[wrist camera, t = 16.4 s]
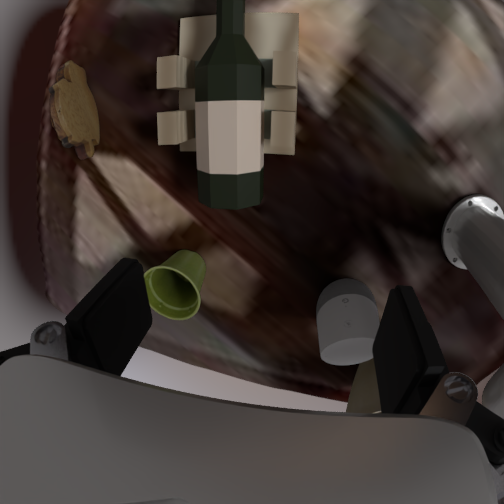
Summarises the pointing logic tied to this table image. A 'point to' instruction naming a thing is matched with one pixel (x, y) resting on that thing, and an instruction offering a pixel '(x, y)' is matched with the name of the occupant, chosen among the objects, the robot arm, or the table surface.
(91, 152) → the wooden carving
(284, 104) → the rest
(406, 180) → the table surface
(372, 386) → the plant pot
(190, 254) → the plant pot
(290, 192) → the table surface
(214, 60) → the wine bottle
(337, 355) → the smart speaker
